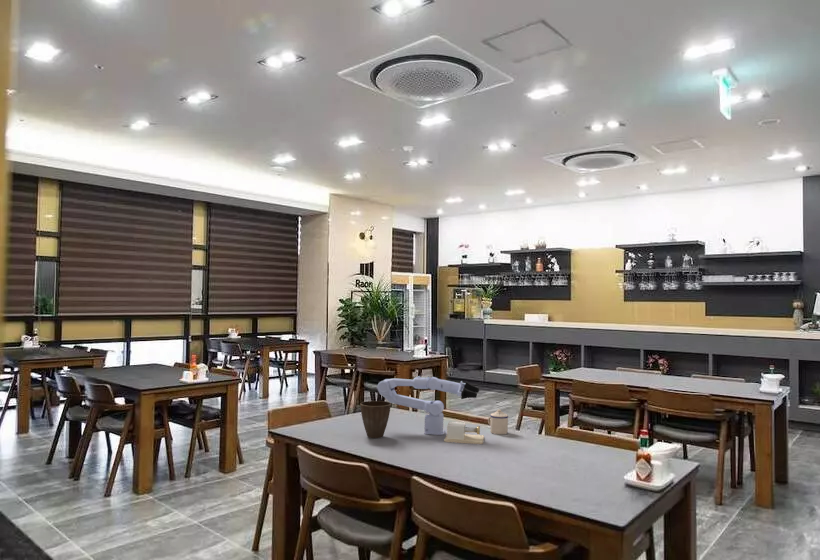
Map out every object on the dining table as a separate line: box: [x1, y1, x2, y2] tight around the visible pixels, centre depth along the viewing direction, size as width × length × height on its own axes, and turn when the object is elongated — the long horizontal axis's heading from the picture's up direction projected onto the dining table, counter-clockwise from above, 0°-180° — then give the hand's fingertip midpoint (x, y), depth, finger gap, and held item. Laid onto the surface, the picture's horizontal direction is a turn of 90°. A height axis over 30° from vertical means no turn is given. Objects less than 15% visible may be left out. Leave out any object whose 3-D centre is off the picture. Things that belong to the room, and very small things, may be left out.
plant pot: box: [359, 400, 392, 439], centre depth 277 cm, size 15×15×16 cm
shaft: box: [464, 425, 481, 435], centre depth 274 cm, size 12×4×4 cm, turn 80°
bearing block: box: [443, 421, 485, 445], centre depth 274 cm, size 18×14×7 cm
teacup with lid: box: [487, 409, 509, 436], centre depth 292 cm, size 12×9×12 cm
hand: (477, 392), depth 283 cm, fingers open, 7 cm apart
